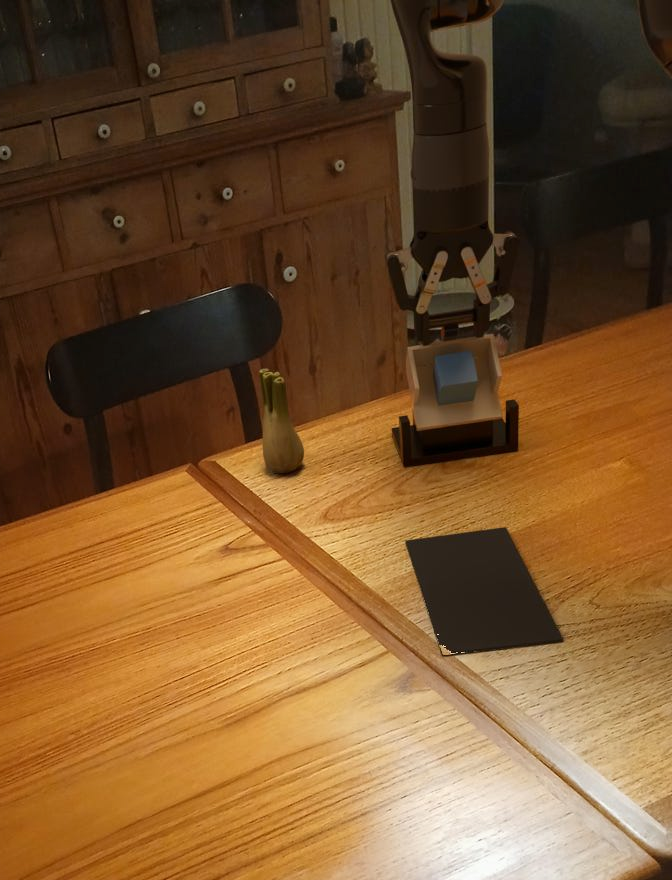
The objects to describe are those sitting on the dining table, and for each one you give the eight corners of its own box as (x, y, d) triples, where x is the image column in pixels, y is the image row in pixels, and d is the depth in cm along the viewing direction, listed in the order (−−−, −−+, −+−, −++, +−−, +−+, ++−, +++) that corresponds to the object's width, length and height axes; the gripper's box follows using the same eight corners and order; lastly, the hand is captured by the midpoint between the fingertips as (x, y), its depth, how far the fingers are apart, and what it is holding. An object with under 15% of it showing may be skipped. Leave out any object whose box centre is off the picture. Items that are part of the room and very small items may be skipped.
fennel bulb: (266, 460, 122) (253, 366, 115) (306, 455, 121) (295, 360, 114) (264, 480, 117) (250, 383, 111) (305, 476, 116) (294, 378, 110)
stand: (498, 419, 120) (499, 376, 117) (518, 451, 112) (519, 405, 109) (391, 435, 122) (389, 392, 119) (403, 467, 114) (401, 422, 111)
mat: (505, 529, 99) (505, 526, 98) (563, 641, 82) (563, 638, 82) (405, 542, 100) (405, 540, 100) (442, 656, 83) (441, 653, 83)
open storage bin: (484, 338, 114) (493, 301, 108) (501, 418, 111) (511, 385, 104) (402, 350, 115) (405, 314, 109) (416, 431, 112) (421, 399, 106)
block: (467, 370, 113) (472, 350, 109) (473, 400, 111) (478, 381, 108) (432, 375, 113) (435, 355, 109) (438, 405, 112) (441, 386, 108)
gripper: (383, 196, 97) (391, 361, 107) (532, 171, 96) (526, 341, 105) (374, 180, 103) (382, 337, 113) (513, 156, 102) (509, 318, 112)
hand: (451, 338), depth 109 cm, fingers closed on open storage bin, 5 cm apart
